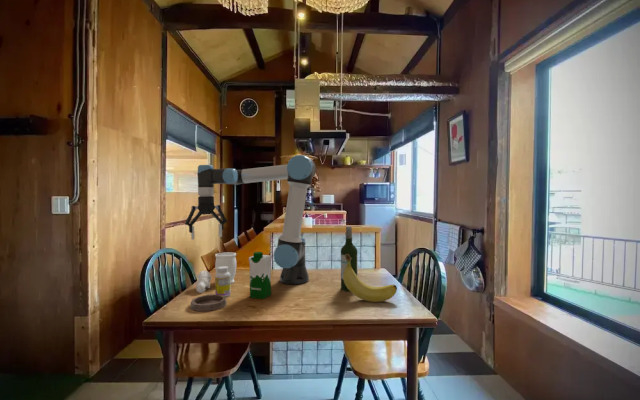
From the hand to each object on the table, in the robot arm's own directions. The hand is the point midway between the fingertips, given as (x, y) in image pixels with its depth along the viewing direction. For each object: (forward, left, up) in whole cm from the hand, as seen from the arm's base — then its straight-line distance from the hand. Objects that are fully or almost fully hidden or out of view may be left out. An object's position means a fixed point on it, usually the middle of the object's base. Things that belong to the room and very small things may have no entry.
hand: (207, 238), depth 162 cm
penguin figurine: (-3, +8, -24) cm, 26 cm away
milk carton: (-34, +8, -24) cm, 43 cm away
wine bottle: (-70, -13, -24) cm, 75 cm away
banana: (-82, +1, -24) cm, 86 cm away
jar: (-6, -7, -24) cm, 26 cm away
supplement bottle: (-17, +12, -24) cm, 32 cm away
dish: (-19, +25, -24) cm, 39 cm away
